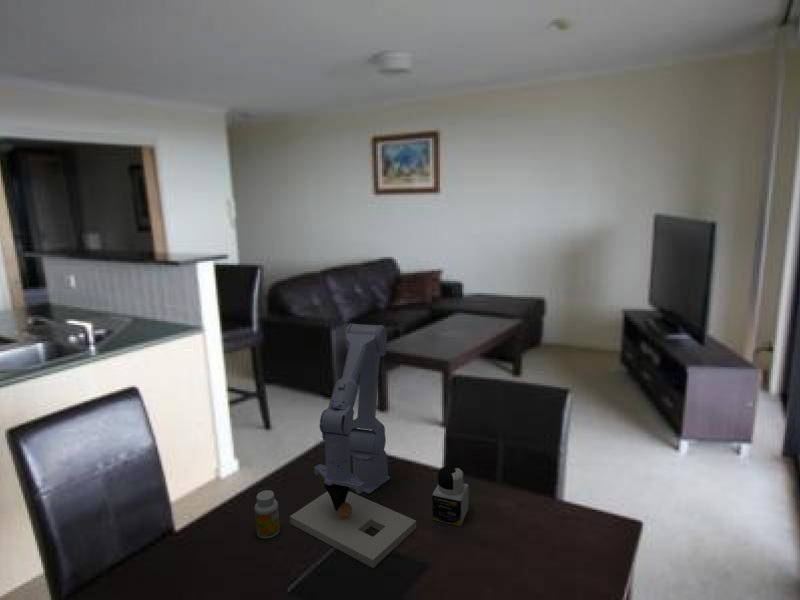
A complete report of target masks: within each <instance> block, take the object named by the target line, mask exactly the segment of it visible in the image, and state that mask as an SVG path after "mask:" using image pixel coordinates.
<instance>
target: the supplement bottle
mask: <svg viewBox="0 0 800 600" xmlns="http://www.w3.org/2000/svg"><path fill="white" fill-rule="evenodd" d="M254 516H255V517H254V518H255V529H256V535H257V537H258V538H260V539H271V538H274V537H275V536H277V535H278V534H279V533H280V530H281V525H280V513H279V502H278V501H277V499H275V493H274V491H273V490H270V489H269V490H262V491H260V492H258V493H257V495H256V503H255V505H254Z"/></svg>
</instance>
